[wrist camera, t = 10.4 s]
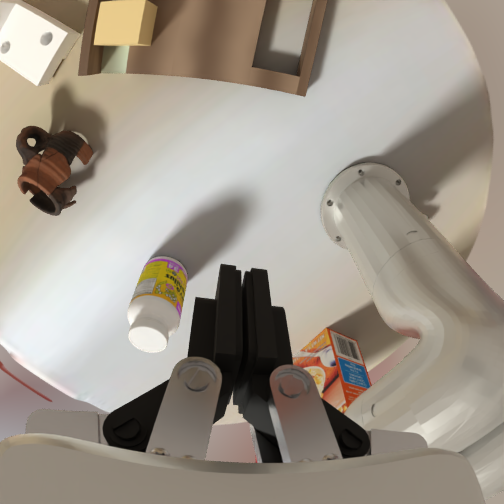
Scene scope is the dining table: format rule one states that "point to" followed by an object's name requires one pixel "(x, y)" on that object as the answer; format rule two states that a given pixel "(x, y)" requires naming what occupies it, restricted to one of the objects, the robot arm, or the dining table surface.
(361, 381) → the orange cereal box
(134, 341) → the supplement bottle
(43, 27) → the bracket
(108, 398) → the dining table surface
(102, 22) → the block
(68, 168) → the pottery mug
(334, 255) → the dining table surface
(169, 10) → the box
